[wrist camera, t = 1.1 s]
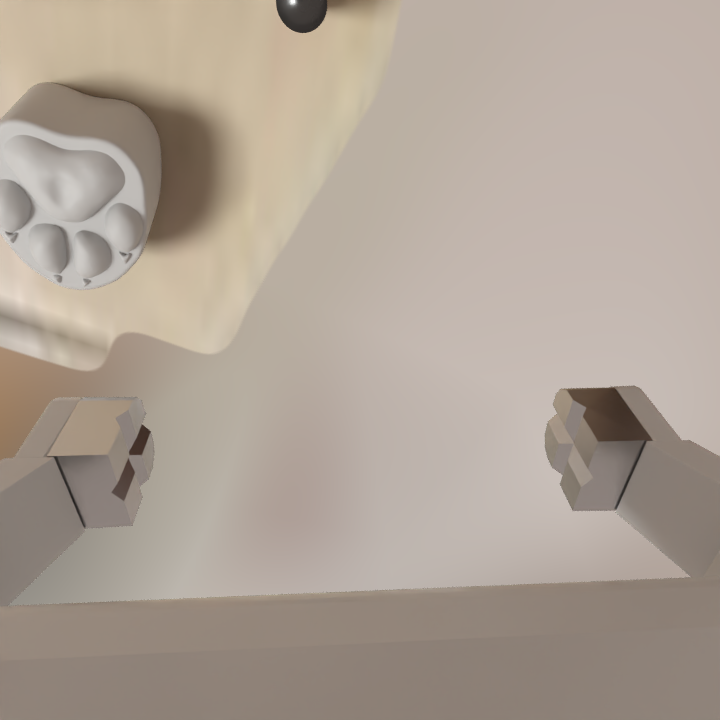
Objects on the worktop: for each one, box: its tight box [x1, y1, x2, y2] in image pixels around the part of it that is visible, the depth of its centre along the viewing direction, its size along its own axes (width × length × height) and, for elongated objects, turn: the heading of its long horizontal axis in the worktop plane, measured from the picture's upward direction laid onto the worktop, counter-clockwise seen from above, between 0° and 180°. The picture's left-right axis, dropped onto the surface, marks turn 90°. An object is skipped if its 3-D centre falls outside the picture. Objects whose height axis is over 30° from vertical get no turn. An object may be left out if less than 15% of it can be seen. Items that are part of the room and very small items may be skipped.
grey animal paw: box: [0, 83, 162, 290], centre depth 41 cm, size 10×13×9 cm
